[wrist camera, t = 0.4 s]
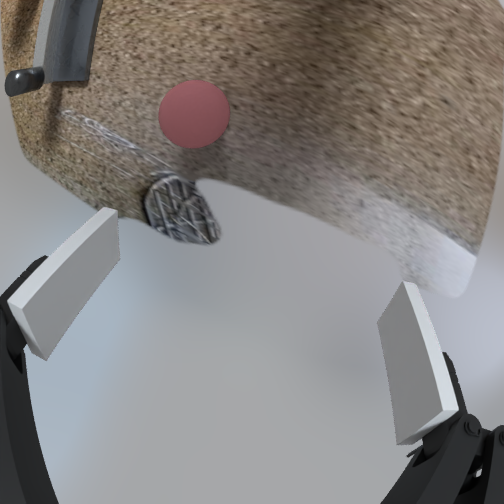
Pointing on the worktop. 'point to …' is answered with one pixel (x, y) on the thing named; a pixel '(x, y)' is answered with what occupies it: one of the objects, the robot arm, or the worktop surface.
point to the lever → (39, 53)
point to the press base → (76, 40)
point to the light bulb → (194, 114)
